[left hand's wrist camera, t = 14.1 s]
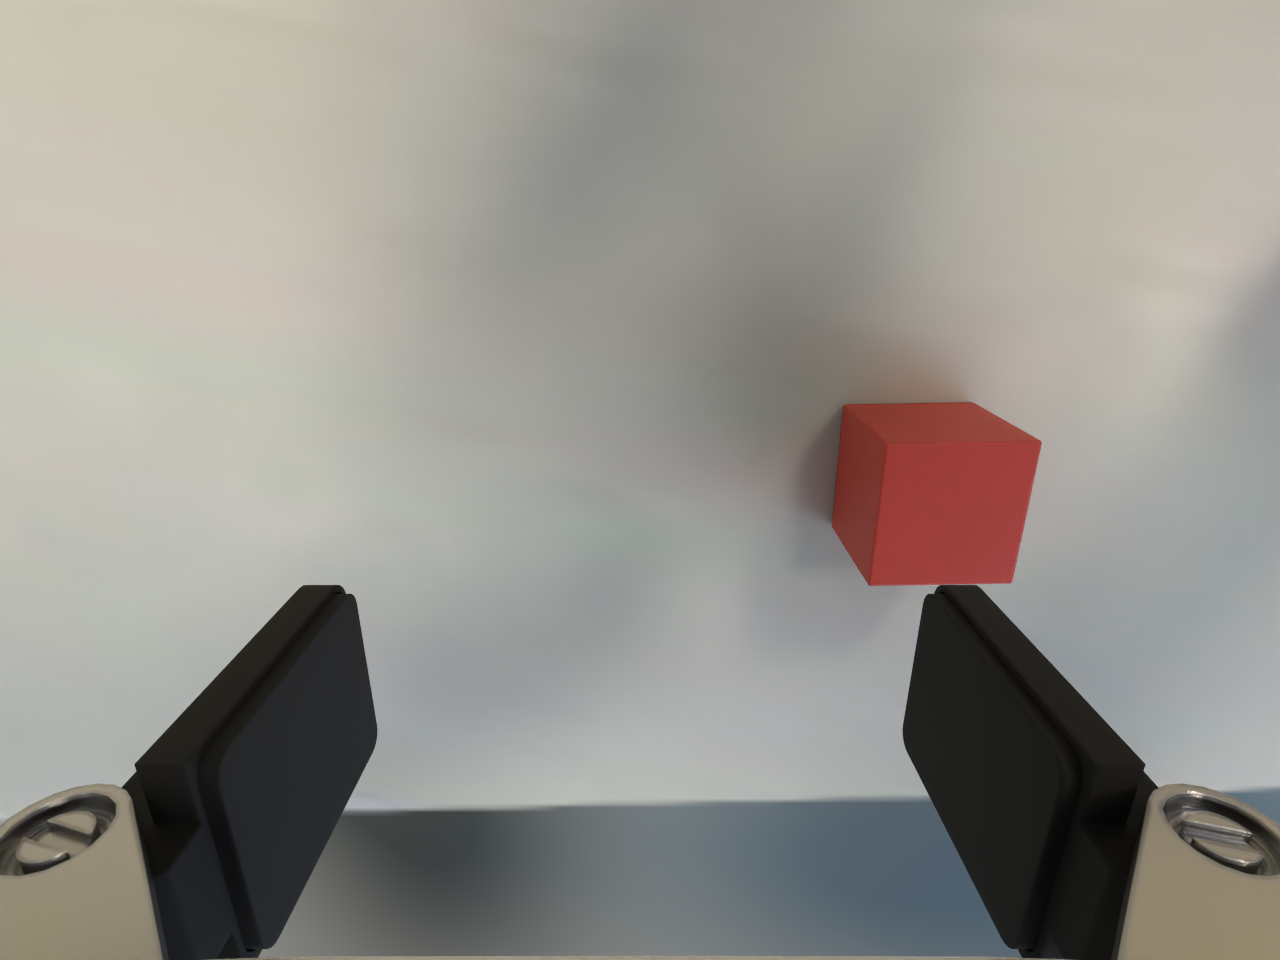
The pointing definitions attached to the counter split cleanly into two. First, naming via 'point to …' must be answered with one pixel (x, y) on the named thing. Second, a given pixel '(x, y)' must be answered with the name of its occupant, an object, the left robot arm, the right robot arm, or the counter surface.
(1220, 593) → the counter surface
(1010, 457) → the cube
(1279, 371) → the counter surface
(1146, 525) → the counter surface
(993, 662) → the left robot arm
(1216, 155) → the counter surface
